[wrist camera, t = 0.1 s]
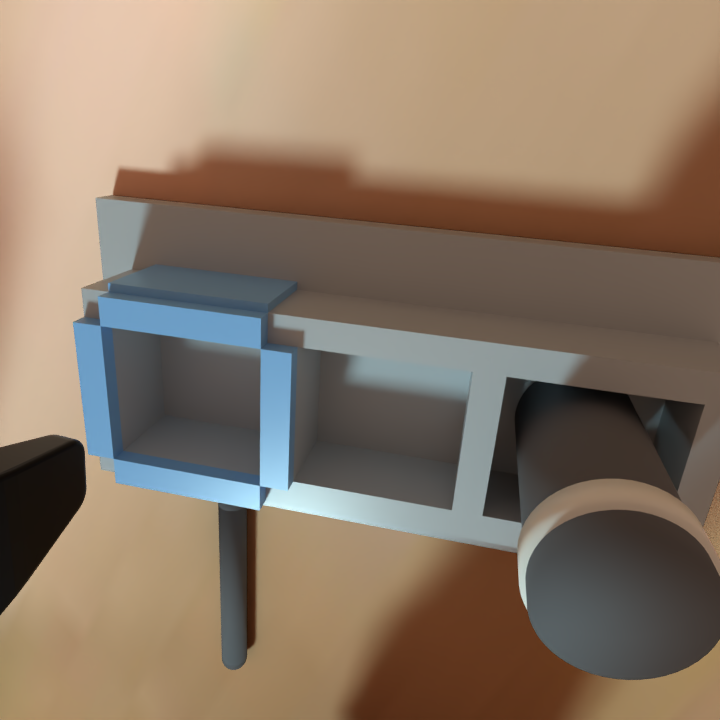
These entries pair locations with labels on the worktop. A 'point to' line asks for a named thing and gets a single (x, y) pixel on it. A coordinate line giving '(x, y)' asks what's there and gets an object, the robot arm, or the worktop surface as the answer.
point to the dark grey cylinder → (608, 540)
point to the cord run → (233, 584)
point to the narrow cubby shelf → (378, 361)
